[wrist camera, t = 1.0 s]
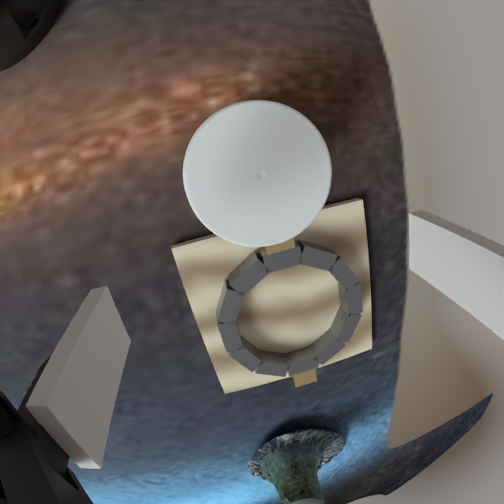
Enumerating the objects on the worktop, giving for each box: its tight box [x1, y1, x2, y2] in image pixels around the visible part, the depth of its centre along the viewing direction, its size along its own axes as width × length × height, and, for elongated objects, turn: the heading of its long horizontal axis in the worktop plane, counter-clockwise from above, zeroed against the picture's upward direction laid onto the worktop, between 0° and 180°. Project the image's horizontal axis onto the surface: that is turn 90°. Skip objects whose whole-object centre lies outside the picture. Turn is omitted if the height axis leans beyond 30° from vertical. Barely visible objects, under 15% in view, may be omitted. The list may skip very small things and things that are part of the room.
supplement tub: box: [183, 100, 332, 247], centre depth 25 cm, size 10×10×15 cm
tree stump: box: [248, 429, 345, 504], centre depth 44 cm, size 18×20×18 cm
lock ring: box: [216, 237, 363, 387], centre depth 36 cm, size 22×17×2 cm
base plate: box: [171, 198, 372, 394], centre depth 38 cm, size 22×22×1 cm
